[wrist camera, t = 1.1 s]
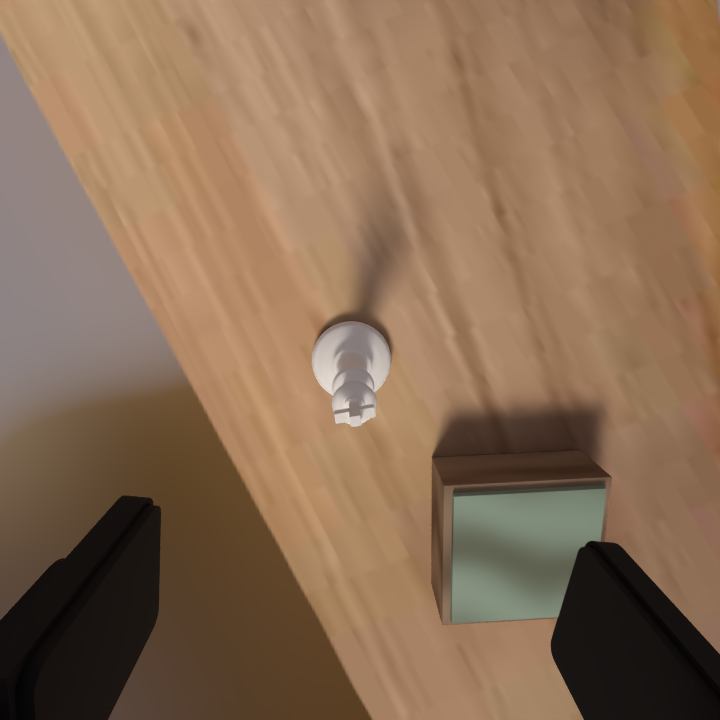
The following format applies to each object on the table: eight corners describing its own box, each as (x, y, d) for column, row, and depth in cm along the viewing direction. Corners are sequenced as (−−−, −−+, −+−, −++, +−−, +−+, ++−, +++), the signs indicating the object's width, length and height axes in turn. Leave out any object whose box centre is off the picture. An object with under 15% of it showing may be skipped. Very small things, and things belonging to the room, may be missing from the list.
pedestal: (431, 457, 29) (445, 489, 25) (579, 449, 29) (615, 480, 25) (431, 583, 31) (443, 630, 28) (567, 575, 32) (599, 621, 28)
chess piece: (304, 328, 27) (282, 373, 17) (384, 314, 27) (407, 352, 17) (320, 403, 28) (307, 485, 18) (396, 390, 28) (424, 465, 18)
